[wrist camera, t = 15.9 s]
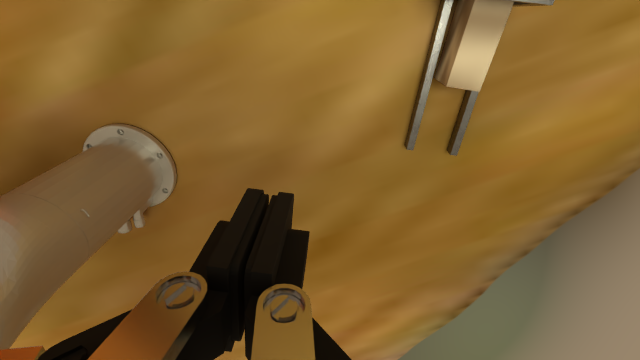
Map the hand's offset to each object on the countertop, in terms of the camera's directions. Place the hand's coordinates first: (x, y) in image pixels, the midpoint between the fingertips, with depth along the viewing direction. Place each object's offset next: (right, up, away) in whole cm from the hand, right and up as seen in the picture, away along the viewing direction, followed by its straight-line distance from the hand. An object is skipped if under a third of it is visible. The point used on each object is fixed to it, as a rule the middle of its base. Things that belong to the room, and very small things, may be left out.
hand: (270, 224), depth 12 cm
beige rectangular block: (+18, +19, +22) cm, 34 cm away
